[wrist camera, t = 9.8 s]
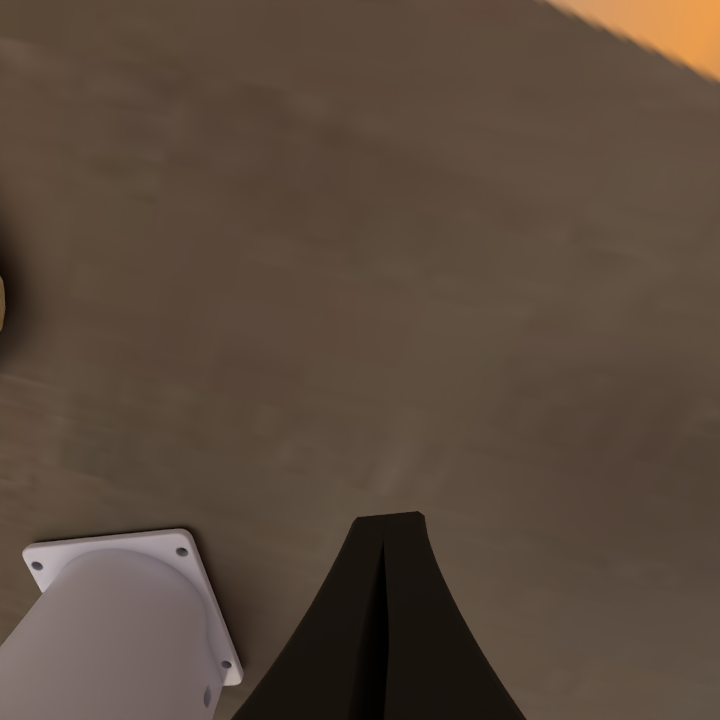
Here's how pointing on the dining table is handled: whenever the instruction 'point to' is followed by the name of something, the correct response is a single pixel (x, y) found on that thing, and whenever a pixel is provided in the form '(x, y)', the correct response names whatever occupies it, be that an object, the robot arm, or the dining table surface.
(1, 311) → the bread roll
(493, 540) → the dining table surface
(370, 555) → the robot arm
